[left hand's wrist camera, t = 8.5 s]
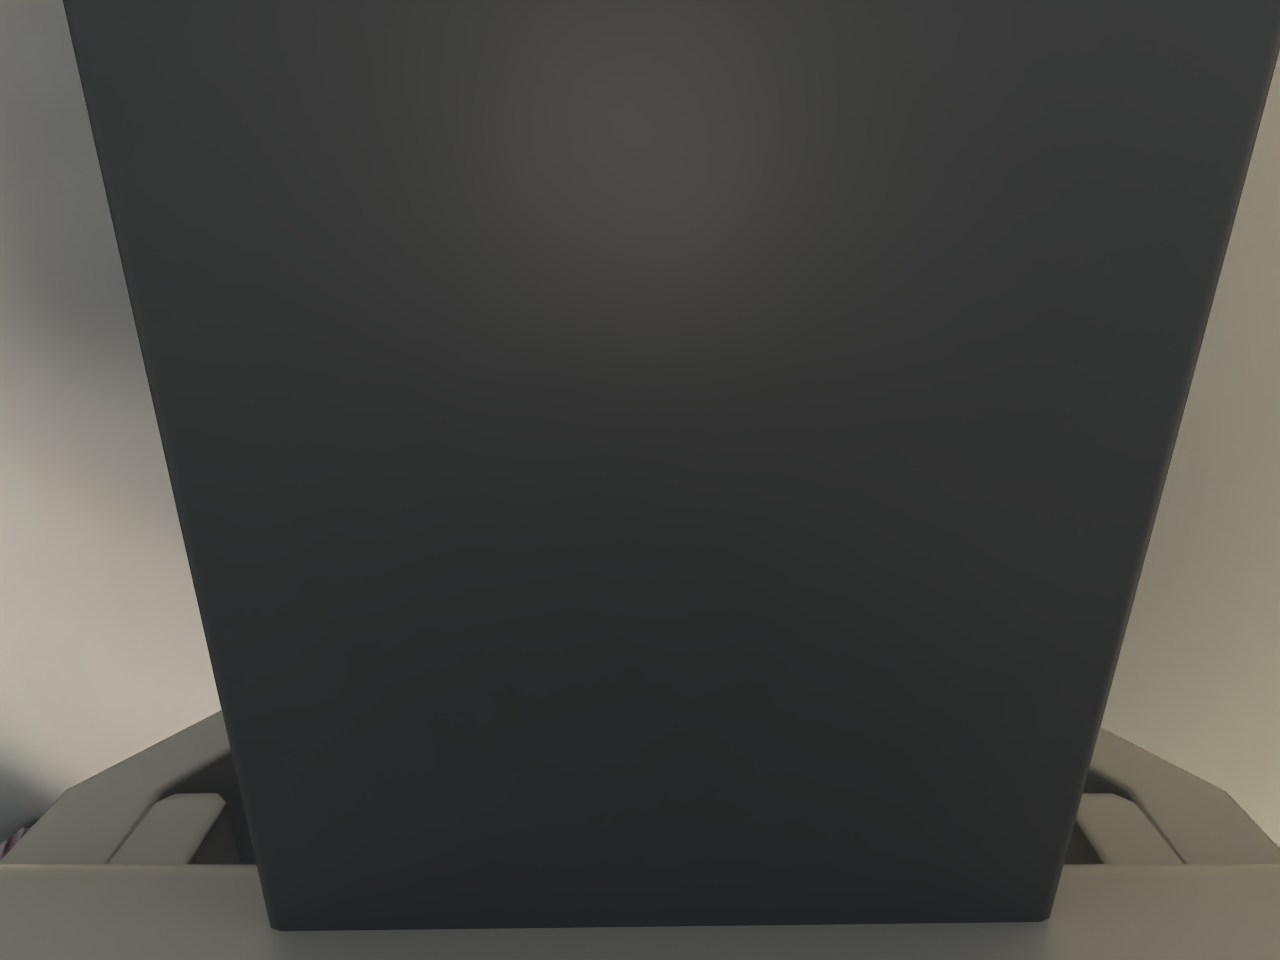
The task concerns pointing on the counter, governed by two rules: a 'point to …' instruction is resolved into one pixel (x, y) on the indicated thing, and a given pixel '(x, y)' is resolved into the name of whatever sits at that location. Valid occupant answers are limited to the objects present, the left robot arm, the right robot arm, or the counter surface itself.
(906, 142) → the post
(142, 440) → the counter surface
